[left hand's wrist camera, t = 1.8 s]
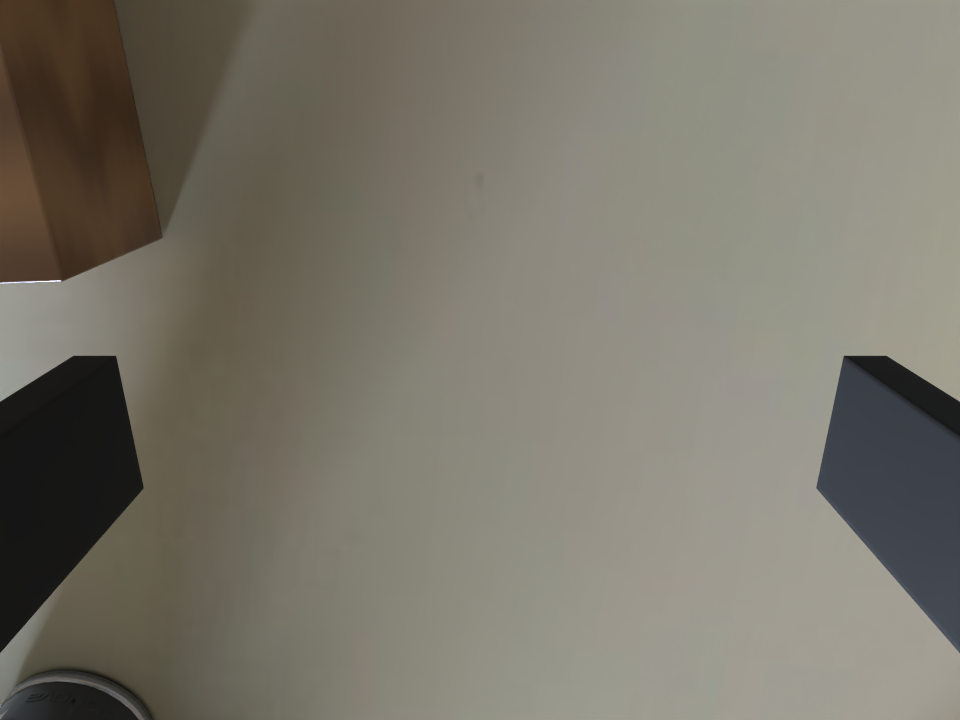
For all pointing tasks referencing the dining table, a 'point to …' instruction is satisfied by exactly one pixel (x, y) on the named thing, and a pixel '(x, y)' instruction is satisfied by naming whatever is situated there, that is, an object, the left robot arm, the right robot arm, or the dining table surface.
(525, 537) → the dining table surface
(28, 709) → the right robot arm
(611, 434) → the dining table surface
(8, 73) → the bar
